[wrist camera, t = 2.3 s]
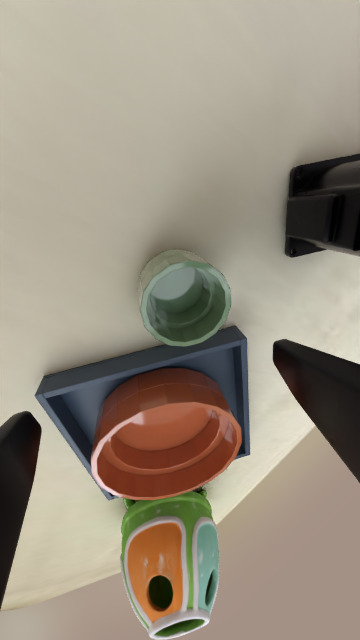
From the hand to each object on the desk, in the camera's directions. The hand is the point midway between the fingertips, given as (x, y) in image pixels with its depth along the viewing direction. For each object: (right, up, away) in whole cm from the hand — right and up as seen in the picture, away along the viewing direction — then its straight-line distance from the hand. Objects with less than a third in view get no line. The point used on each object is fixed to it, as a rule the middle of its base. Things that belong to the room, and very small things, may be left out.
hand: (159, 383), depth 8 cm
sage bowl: (0, +5, +10) cm, 11 cm away
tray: (-1, -8, +17) cm, 19 cm away
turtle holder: (-1, -25, +26) cm, 36 cm away
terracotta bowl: (-1, -8, +17) cm, 19 cm away
